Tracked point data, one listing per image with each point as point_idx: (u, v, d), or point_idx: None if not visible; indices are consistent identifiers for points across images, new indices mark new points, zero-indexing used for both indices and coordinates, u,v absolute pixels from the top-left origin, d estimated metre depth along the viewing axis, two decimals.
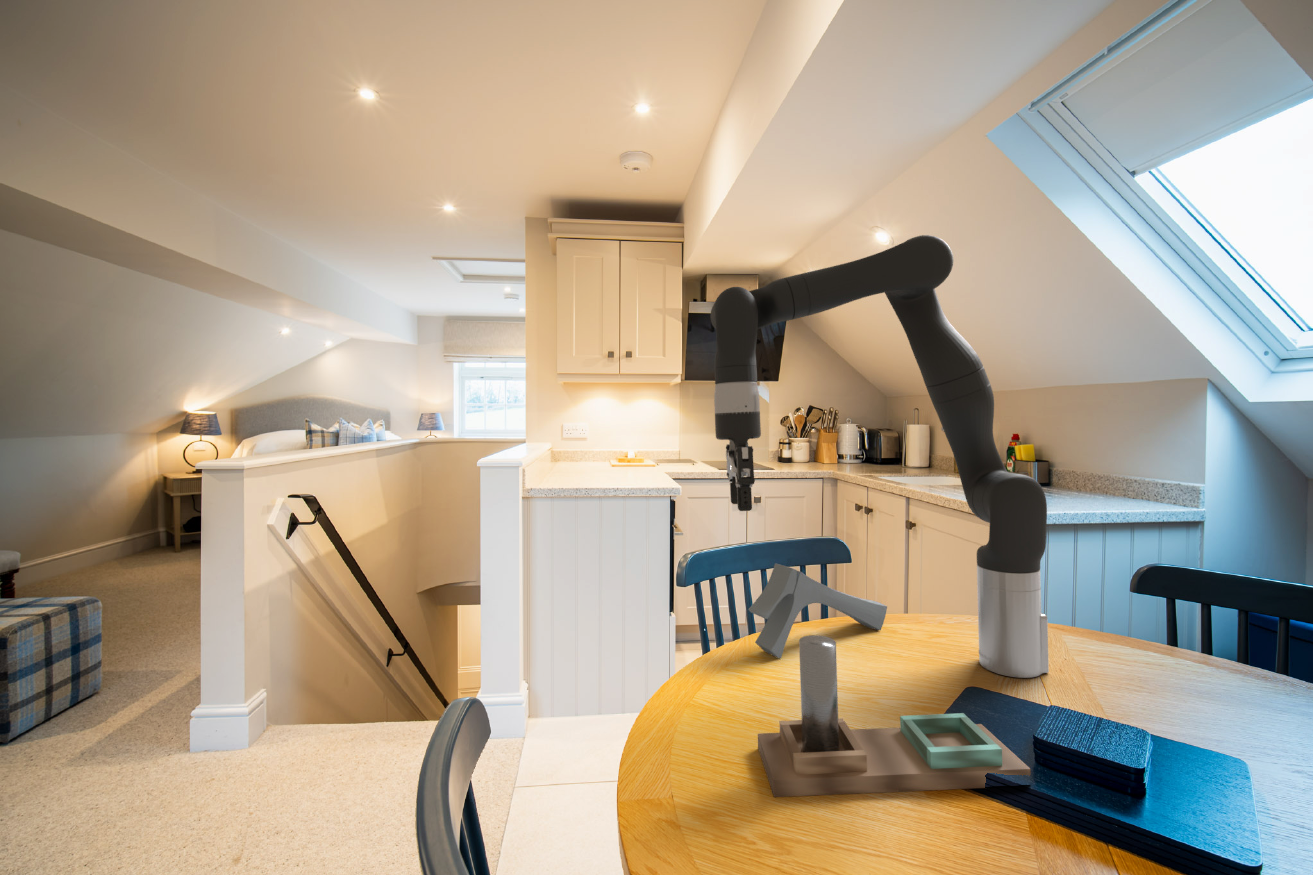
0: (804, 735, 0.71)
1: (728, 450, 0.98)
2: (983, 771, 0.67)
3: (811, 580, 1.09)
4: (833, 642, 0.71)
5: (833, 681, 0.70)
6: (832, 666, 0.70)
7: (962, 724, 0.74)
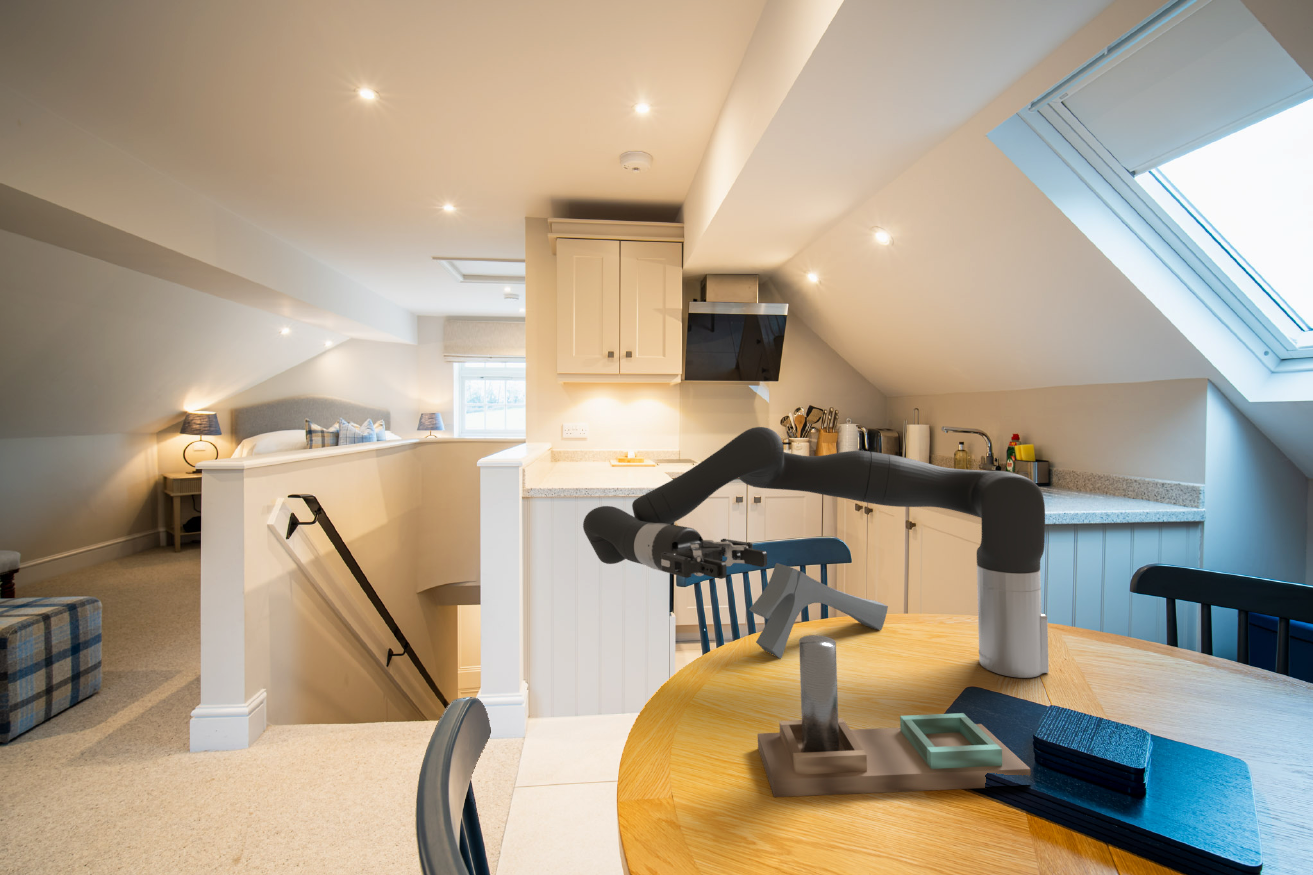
0: (804, 735, 0.71)
1: None
2: (983, 771, 0.67)
3: (812, 580, 1.09)
4: (833, 642, 0.71)
5: (833, 681, 0.70)
6: (832, 666, 0.70)
7: (962, 724, 0.74)
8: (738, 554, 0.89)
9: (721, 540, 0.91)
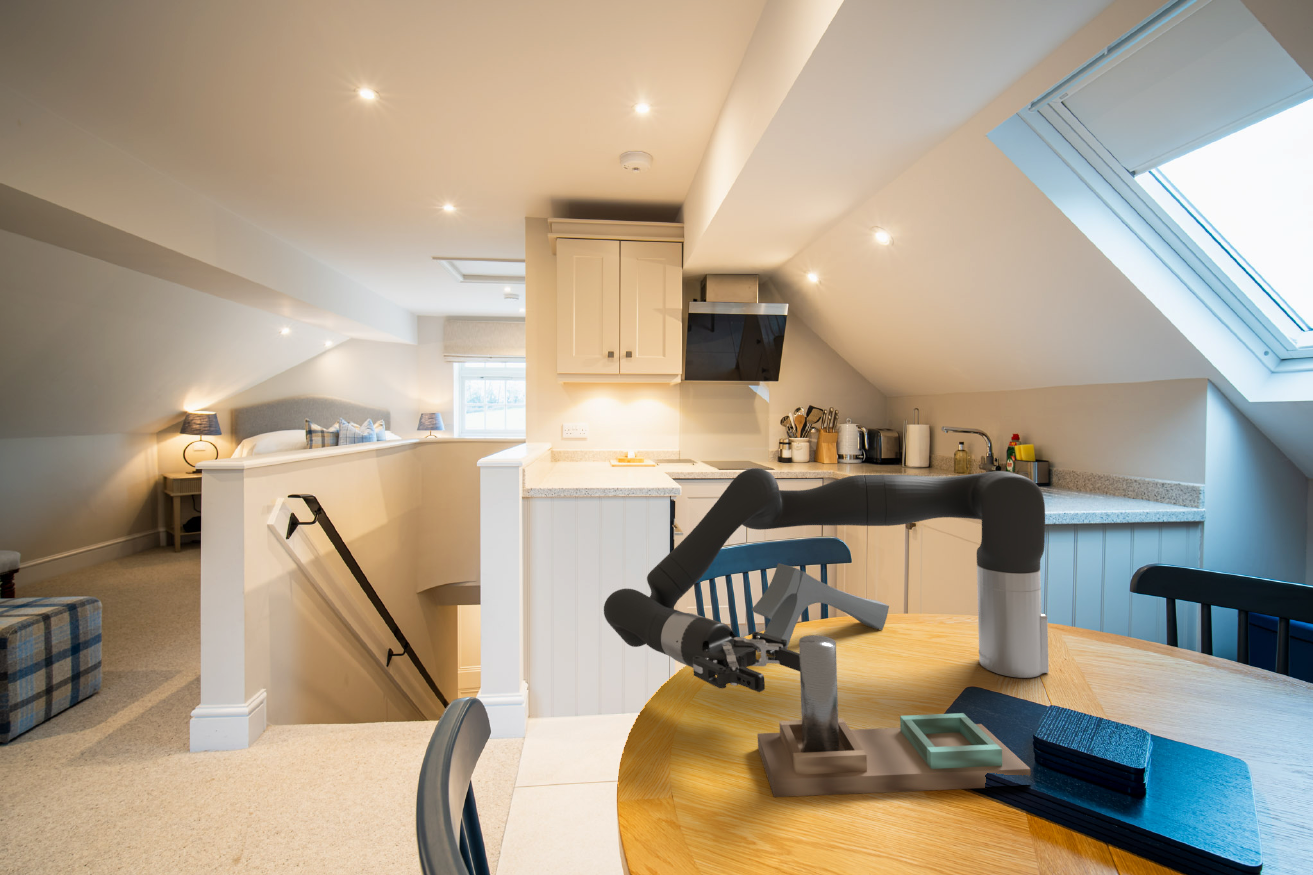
0: (804, 735, 0.71)
1: None
2: (983, 771, 0.67)
3: (814, 580, 1.09)
4: (833, 642, 0.71)
5: (833, 681, 0.70)
6: (832, 666, 0.70)
7: (962, 724, 0.74)
8: (771, 650, 0.85)
9: (753, 634, 0.87)
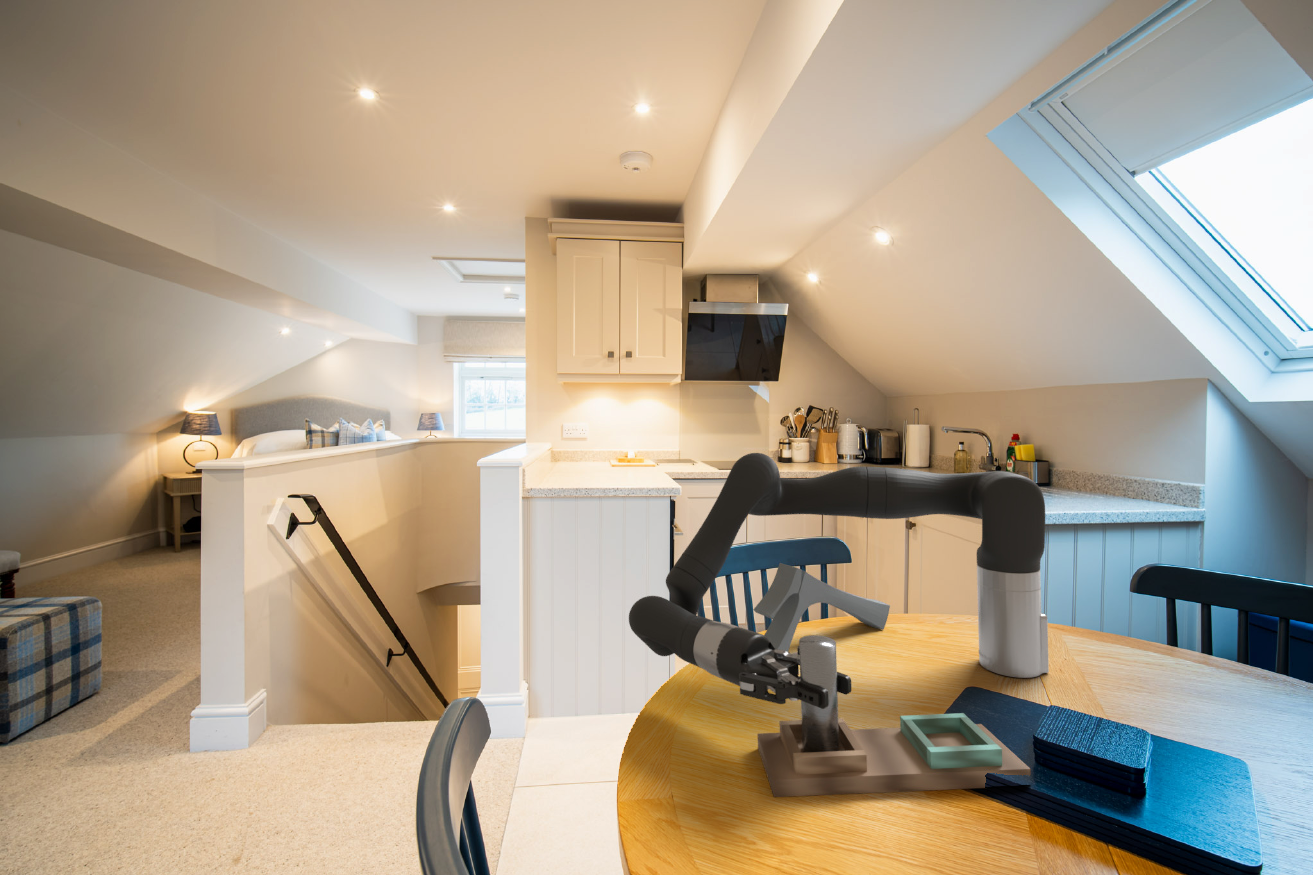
0: (804, 735, 0.71)
1: None
2: (983, 771, 0.67)
3: (816, 580, 1.09)
4: (833, 642, 0.71)
5: (833, 681, 0.70)
6: (832, 666, 0.70)
7: (962, 724, 0.74)
8: None
9: (797, 647, 0.81)
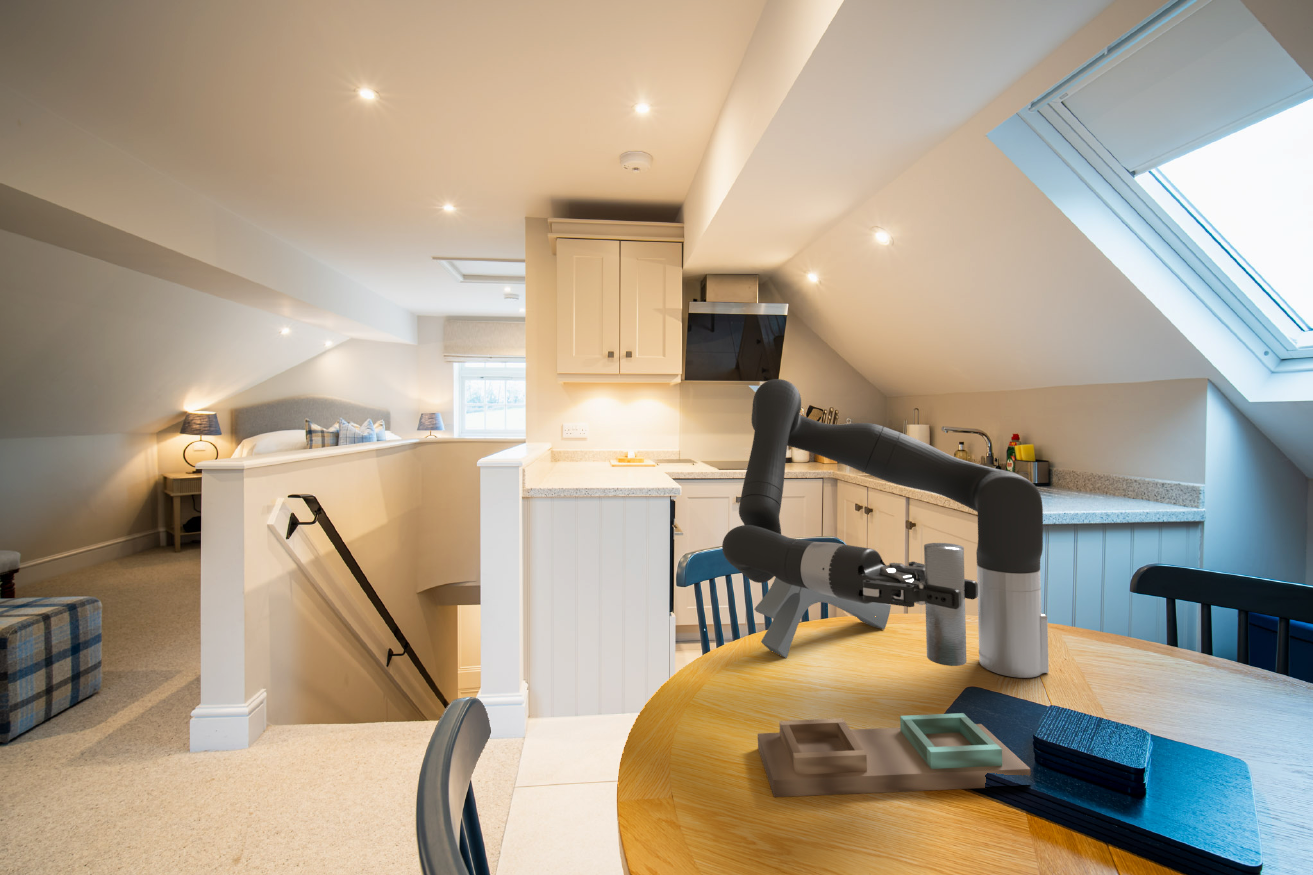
0: (931, 640, 0.71)
1: None
2: (983, 771, 0.67)
3: None
4: (960, 546, 0.71)
5: (962, 584, 0.70)
6: (961, 568, 0.69)
7: (962, 724, 0.74)
8: None
9: (909, 563, 0.80)
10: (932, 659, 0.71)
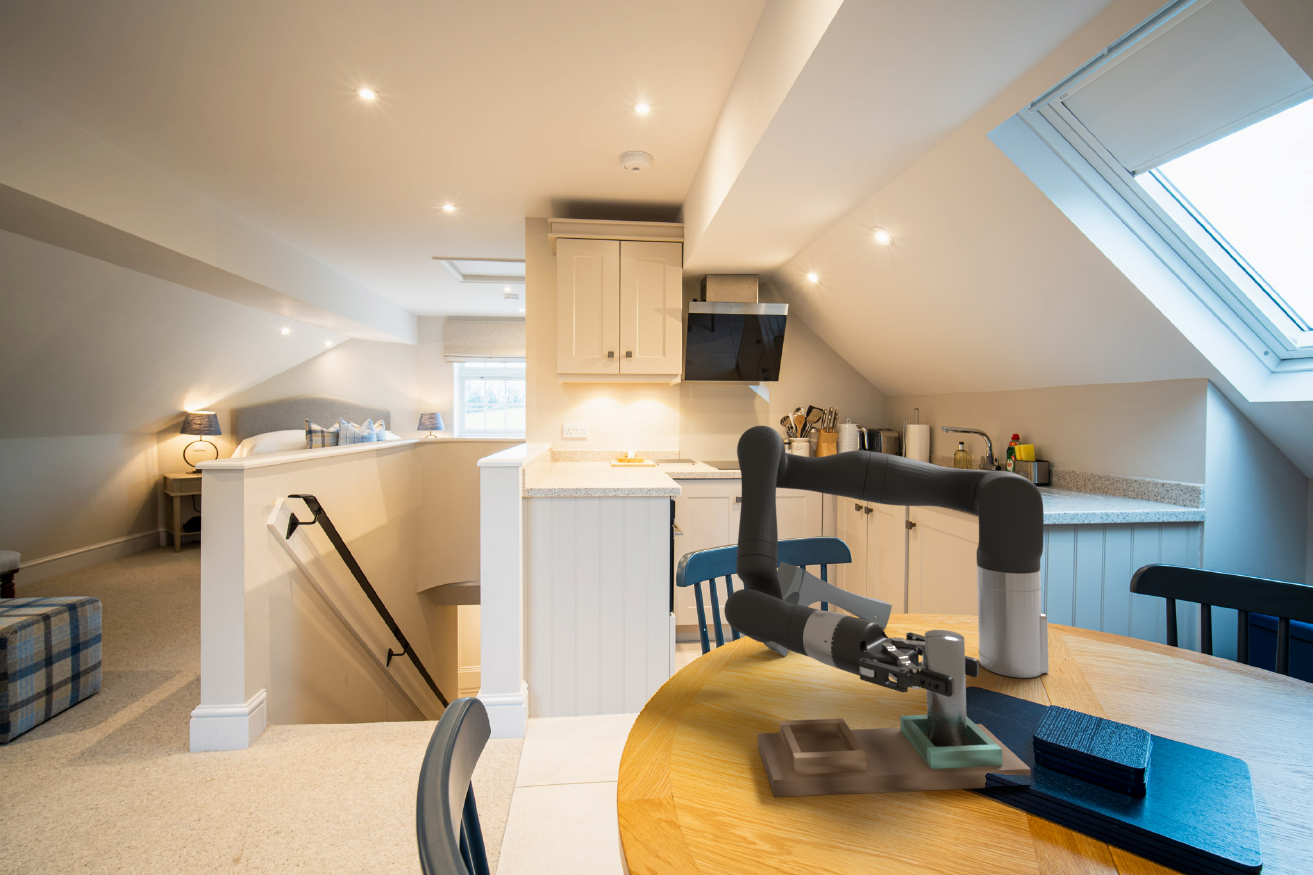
0: (932, 729, 0.71)
1: None
2: (983, 771, 0.67)
3: (816, 579, 1.10)
4: (961, 636, 0.71)
5: (963, 675, 0.70)
6: (962, 660, 0.70)
7: None
8: None
9: (907, 635, 0.81)
10: None
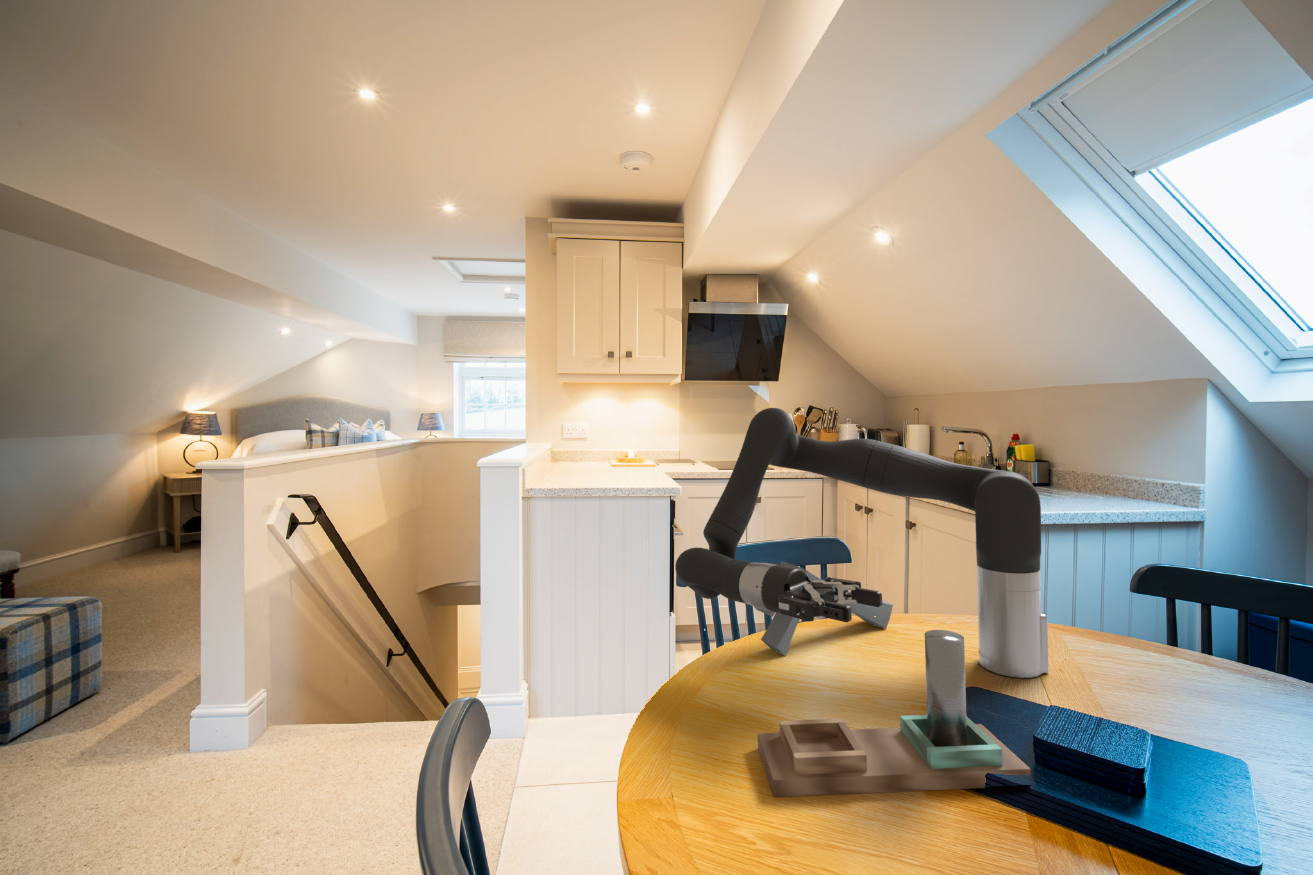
0: (932, 729, 0.71)
1: None
2: (983, 771, 0.67)
3: (816, 578, 1.10)
4: (960, 636, 0.71)
5: (963, 675, 0.70)
6: (962, 660, 0.70)
7: None
8: (846, 593, 0.91)
9: (826, 579, 0.93)
10: None
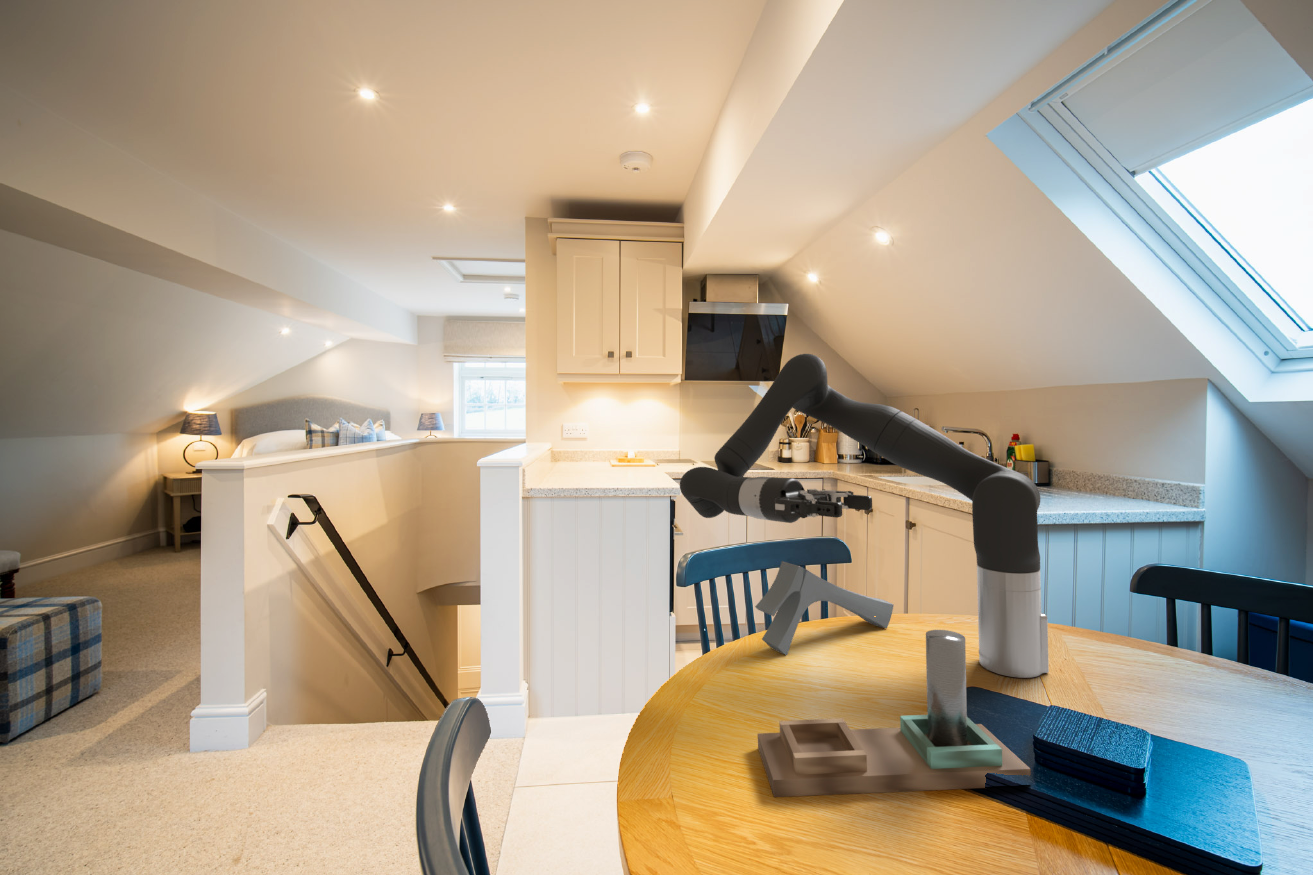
0: (932, 729, 0.71)
1: None
2: (983, 771, 0.67)
3: (817, 578, 1.10)
4: (962, 636, 0.71)
5: (963, 675, 0.70)
6: (963, 660, 0.70)
7: None
8: None
9: (821, 490, 0.99)
10: None
